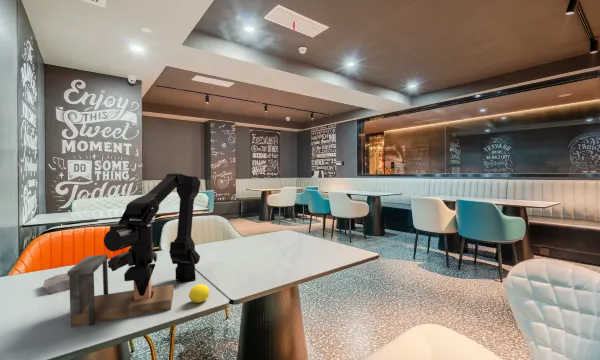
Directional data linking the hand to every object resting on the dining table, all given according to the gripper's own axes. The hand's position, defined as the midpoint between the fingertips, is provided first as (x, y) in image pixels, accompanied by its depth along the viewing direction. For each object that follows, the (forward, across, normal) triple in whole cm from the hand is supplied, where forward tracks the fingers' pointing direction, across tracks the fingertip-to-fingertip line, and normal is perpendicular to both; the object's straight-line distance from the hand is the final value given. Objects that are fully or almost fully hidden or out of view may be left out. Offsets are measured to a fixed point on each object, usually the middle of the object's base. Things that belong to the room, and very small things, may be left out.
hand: (143, 292), depth 84 cm
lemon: (+4, +4, +16) cm, 17 cm away
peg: (+2, 0, 0) cm, 2 cm away
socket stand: (+4, 0, -4) cm, 6 cm away
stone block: (+4, -28, -30) cm, 41 cm away
